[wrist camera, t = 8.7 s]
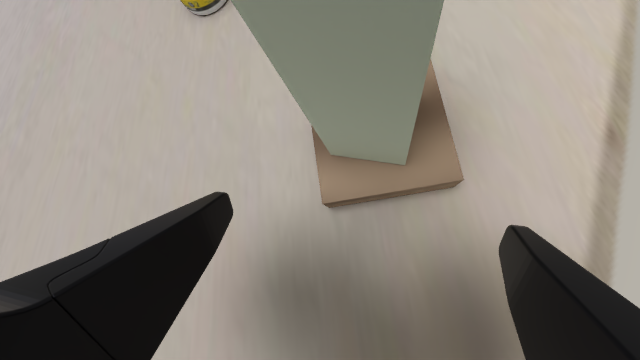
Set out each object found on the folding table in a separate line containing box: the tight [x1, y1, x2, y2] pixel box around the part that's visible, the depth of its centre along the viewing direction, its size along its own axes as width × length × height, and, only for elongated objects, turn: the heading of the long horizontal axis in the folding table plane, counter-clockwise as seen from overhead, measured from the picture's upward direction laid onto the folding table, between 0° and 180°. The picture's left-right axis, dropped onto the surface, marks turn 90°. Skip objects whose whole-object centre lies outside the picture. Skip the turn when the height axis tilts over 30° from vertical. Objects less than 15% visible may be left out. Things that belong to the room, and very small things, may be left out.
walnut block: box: [311, 58, 464, 208], centre depth 20 cm, size 9×9×3 cm
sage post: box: [231, 0, 444, 165], centre depth 12 cm, size 5×5×13 cm
